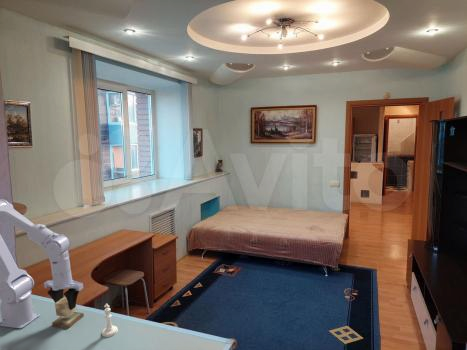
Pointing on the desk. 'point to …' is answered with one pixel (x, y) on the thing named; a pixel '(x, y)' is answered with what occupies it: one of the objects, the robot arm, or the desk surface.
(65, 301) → the birch cube
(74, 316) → the brown framed square tile
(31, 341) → the desk surface
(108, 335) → the chess piece
